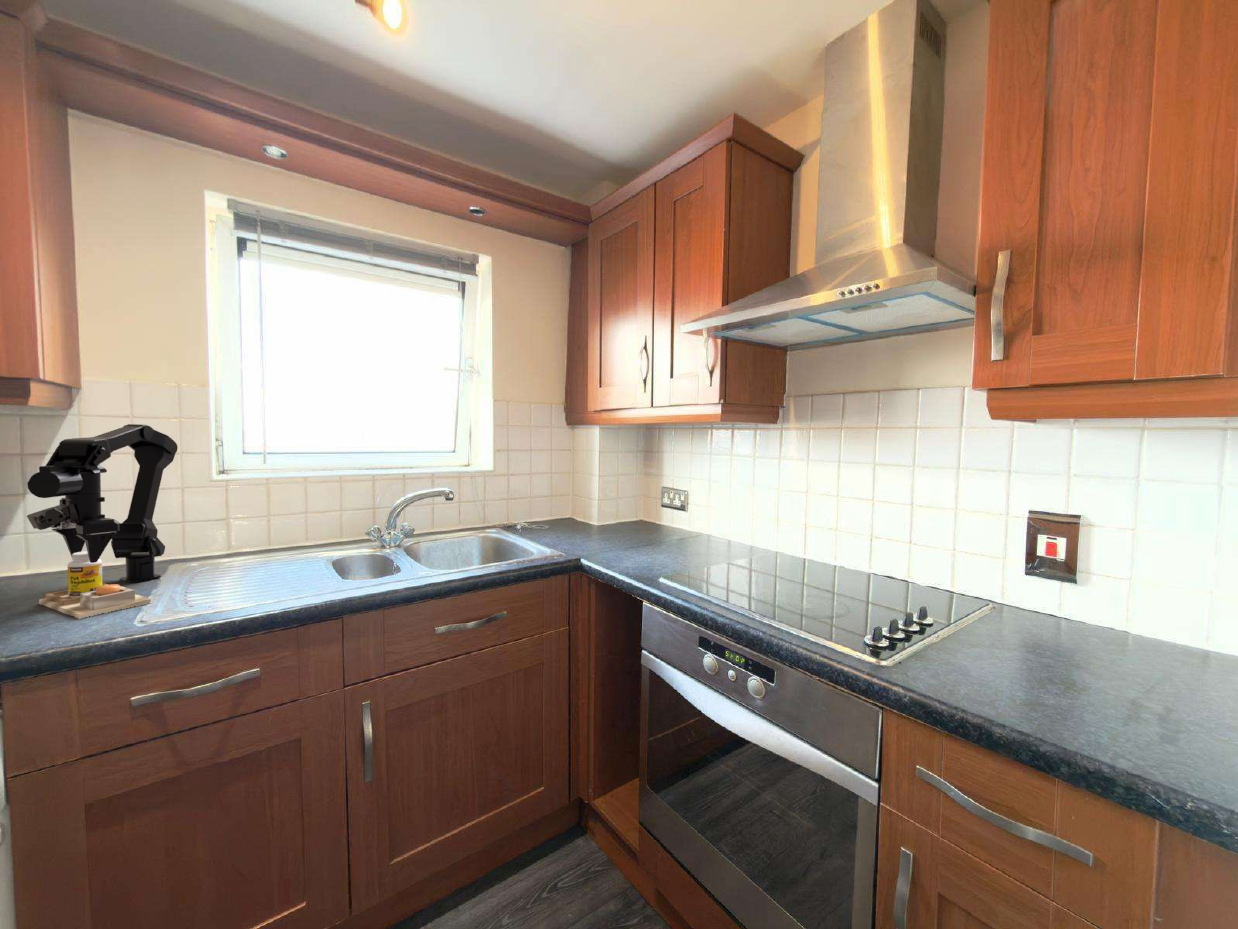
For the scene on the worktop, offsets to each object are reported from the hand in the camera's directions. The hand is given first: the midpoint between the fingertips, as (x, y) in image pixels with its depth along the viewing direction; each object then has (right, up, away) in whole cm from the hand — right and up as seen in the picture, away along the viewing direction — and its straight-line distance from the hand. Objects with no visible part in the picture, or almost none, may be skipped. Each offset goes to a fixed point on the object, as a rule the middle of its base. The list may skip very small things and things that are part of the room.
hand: (84, 559), depth 118 cm
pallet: (+4, -10, -2) cm, 11 cm away
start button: (+10, -7, -4) cm, 13 cm away
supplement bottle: (0, -9, +1) cm, 9 cm away
